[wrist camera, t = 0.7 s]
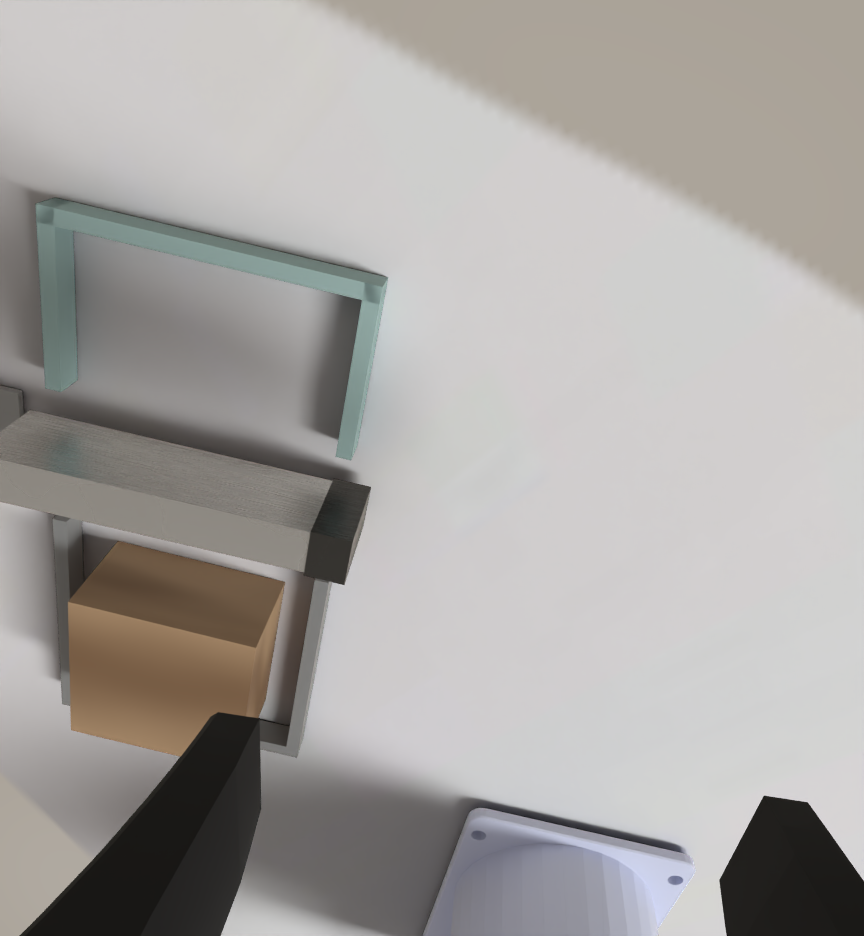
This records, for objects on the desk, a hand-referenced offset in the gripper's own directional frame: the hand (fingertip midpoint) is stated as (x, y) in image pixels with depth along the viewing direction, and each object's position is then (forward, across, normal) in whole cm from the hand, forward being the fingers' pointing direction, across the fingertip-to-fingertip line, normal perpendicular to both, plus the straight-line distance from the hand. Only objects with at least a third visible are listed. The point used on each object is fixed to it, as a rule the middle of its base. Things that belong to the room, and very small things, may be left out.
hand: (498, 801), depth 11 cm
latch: (+10, +8, +1) cm, 13 cm away
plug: (+10, +8, +7) cm, 15 cm away
